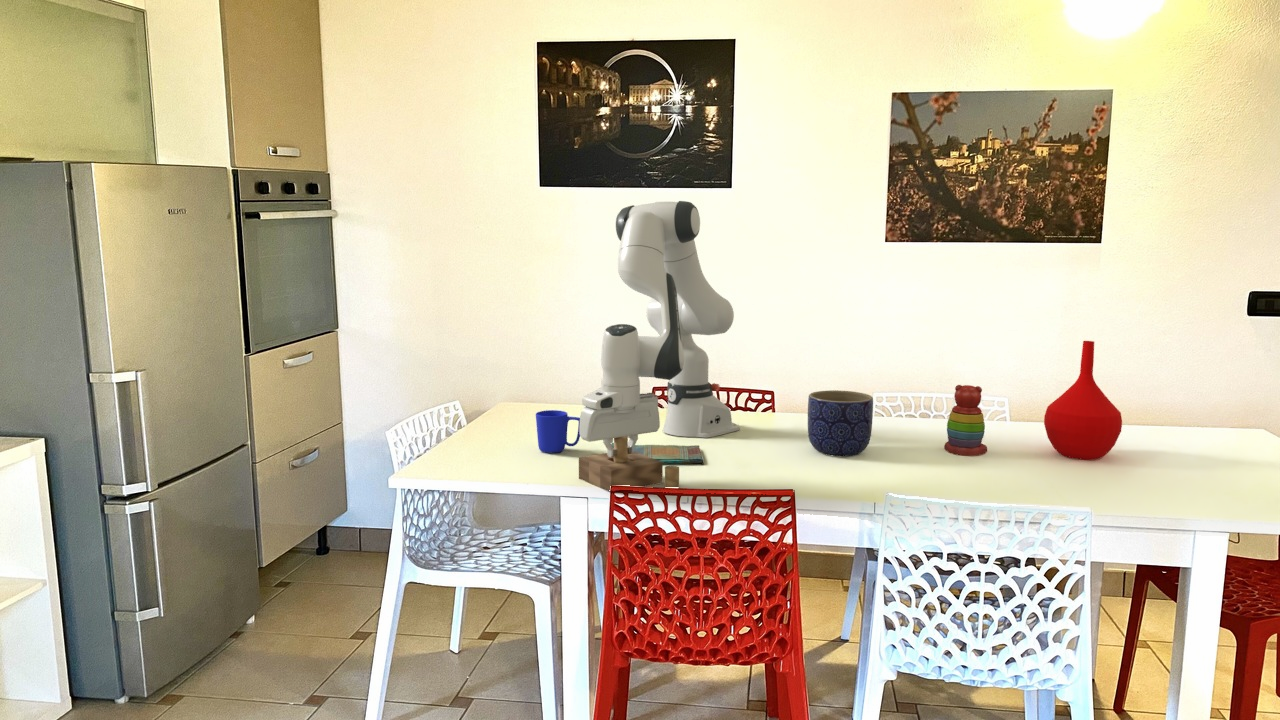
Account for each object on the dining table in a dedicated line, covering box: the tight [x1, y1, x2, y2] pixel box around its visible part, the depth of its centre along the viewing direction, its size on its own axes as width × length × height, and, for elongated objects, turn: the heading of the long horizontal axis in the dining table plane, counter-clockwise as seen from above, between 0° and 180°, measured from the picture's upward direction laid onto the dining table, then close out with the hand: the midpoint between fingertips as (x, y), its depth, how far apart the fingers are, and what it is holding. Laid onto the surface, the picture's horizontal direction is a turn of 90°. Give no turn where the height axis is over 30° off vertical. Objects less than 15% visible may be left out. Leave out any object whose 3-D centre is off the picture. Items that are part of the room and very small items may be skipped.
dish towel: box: [611, 442, 705, 466], centre depth 248 cm, size 17×23×2 cm
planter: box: [807, 389, 874, 457], centre depth 253 cm, size 17×16×15 cm
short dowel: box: [664, 465, 680, 488], centre depth 219 cm, size 3×3×5 cm
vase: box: [1043, 340, 1123, 461], centre depth 250 cm, size 18×18×30 cm
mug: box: [535, 409, 581, 454], centre depth 252 cm, size 8×12×10 cm
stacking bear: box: [943, 384, 988, 457], centre depth 254 cm, size 11×10×18 cm
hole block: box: [578, 452, 664, 492], centre depth 225 cm, size 14×14×5 cm
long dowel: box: [613, 436, 629, 463], centre depth 224 cm, size 3×3×10 cm
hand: (620, 455), depth 225 cm, fingers open, 3 cm apart
